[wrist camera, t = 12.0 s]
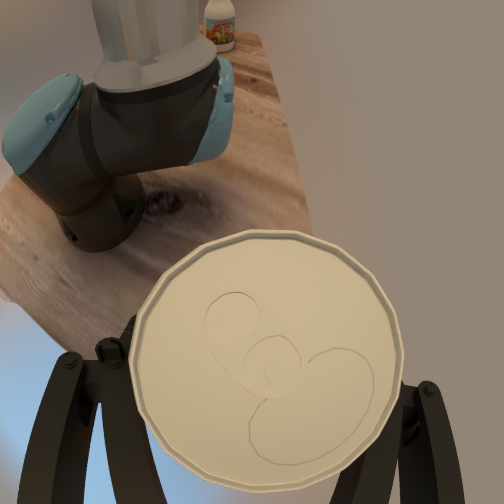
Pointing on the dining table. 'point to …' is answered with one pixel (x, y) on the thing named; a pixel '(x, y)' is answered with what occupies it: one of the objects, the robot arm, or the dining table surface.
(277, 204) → the dining table surface
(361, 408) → the supplement can
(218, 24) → the milk bottle
